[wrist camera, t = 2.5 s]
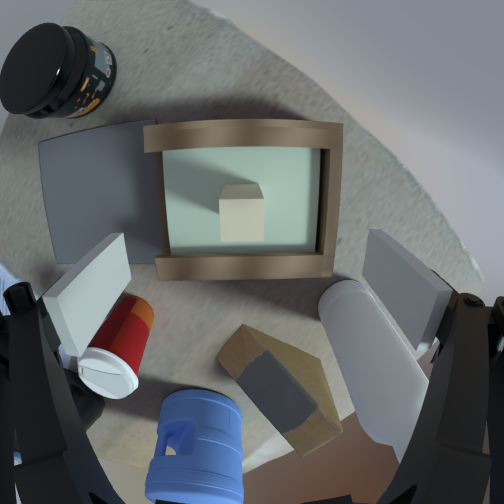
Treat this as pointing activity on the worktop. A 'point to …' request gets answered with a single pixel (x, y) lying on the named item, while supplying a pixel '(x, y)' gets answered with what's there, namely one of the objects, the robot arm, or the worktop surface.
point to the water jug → (197, 450)
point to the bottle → (373, 364)
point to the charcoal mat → (102, 192)
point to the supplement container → (56, 73)
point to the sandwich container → (283, 387)
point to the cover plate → (242, 167)
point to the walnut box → (253, 136)
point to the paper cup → (117, 349)
